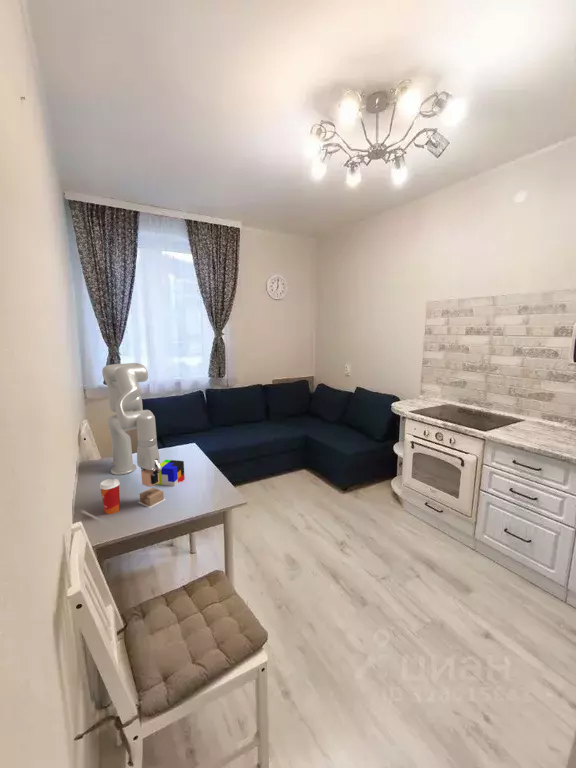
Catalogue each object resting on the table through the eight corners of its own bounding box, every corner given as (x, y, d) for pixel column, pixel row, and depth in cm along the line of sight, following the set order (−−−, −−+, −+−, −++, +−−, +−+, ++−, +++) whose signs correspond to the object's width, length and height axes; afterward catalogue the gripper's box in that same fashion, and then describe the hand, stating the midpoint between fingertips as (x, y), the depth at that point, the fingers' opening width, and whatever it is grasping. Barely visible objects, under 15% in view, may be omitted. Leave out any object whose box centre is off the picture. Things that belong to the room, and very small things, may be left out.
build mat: (128, 502, 157) (128, 499, 157) (150, 491, 168) (150, 489, 167) (151, 511, 149) (151, 509, 149) (173, 499, 159) (173, 497, 159)
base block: (140, 502, 155) (139, 493, 154) (153, 495, 161) (152, 487, 160) (150, 506, 152) (149, 498, 151) (163, 499, 157) (163, 491, 157)
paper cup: (107, 508, 152) (103, 478, 150) (125, 507, 153) (122, 477, 150) (99, 518, 145) (95, 486, 142) (118, 517, 145) (115, 486, 143)
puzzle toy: (174, 488, 170) (173, 469, 169) (156, 486, 172) (154, 467, 171) (184, 479, 180) (183, 461, 178) (167, 477, 182) (165, 459, 180)
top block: (142, 484, 154) (141, 471, 153) (151, 479, 158) (150, 467, 157) (149, 486, 151) (148, 473, 150) (159, 482, 155) (158, 469, 154)
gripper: (127, 441, 153) (131, 480, 156) (153, 448, 144) (156, 489, 147) (142, 436, 159) (145, 474, 162) (167, 443, 150) (170, 482, 153)
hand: (150, 481), depth 154 cm, fingers closed on top block, 5 cm apart
